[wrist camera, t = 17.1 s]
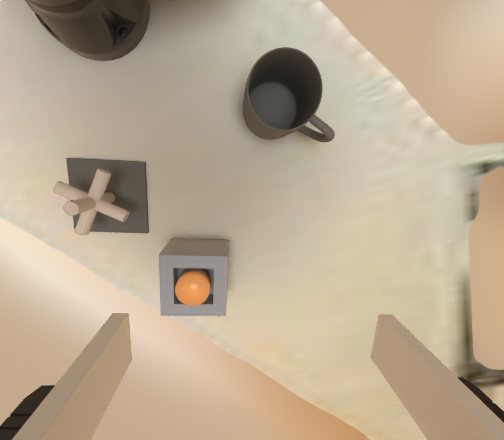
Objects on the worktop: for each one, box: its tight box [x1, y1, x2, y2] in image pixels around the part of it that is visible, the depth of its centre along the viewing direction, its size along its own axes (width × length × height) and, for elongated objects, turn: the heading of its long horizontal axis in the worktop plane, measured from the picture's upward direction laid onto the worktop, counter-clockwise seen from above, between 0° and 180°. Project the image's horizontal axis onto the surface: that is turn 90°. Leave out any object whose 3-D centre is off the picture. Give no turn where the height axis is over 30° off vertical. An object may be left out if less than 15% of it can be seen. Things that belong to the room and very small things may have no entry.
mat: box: [66, 158, 149, 233], centre depth 41 cm, size 12×12×1 cm
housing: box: [159, 238, 229, 316], centre depth 42 cm, size 10×10×8 cm
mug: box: [243, 47, 335, 142], centre depth 35 cm, size 14×9×12 cm
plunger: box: [175, 268, 211, 306], centre depth 38 cm, size 5×5×2 cm
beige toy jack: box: [53, 168, 129, 235], centre depth 36 cm, size 10×10×10 cm
